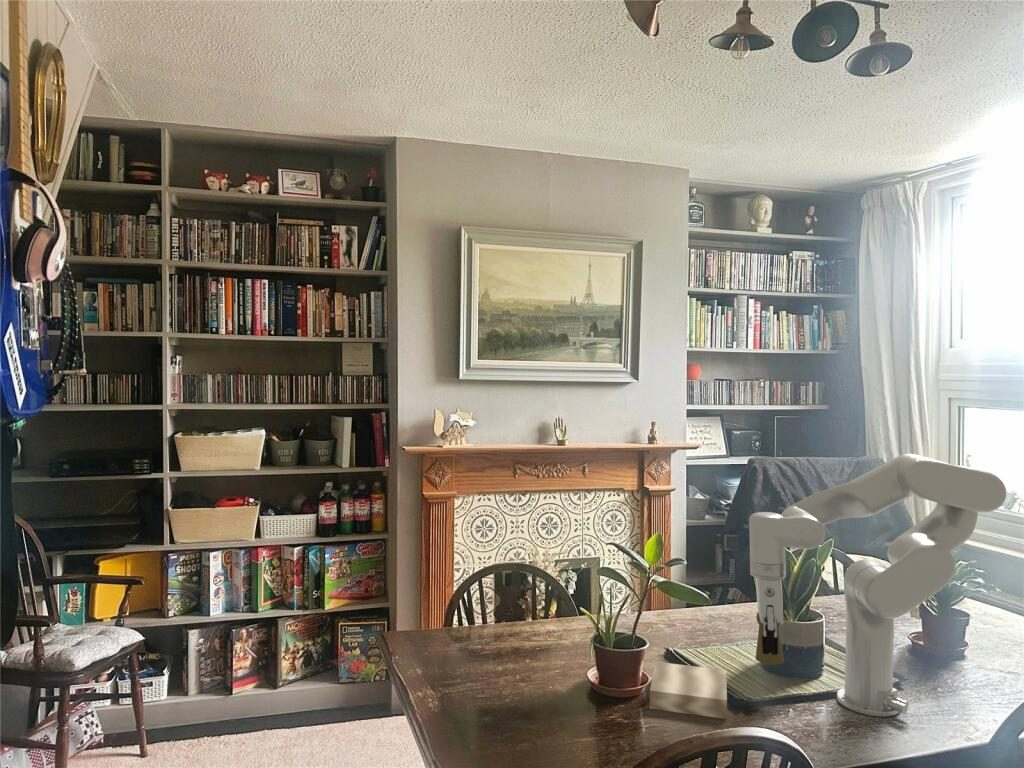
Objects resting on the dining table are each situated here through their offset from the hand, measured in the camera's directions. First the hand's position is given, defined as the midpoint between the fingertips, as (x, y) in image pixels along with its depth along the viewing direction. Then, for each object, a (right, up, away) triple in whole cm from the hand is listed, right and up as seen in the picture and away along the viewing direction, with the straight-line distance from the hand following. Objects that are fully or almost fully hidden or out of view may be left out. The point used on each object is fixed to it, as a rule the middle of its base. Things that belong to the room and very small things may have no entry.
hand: (769, 648), depth 163 cm
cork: (0, -3, 0) cm, 3 cm away
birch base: (-18, -11, 0) cm, 21 cm away
